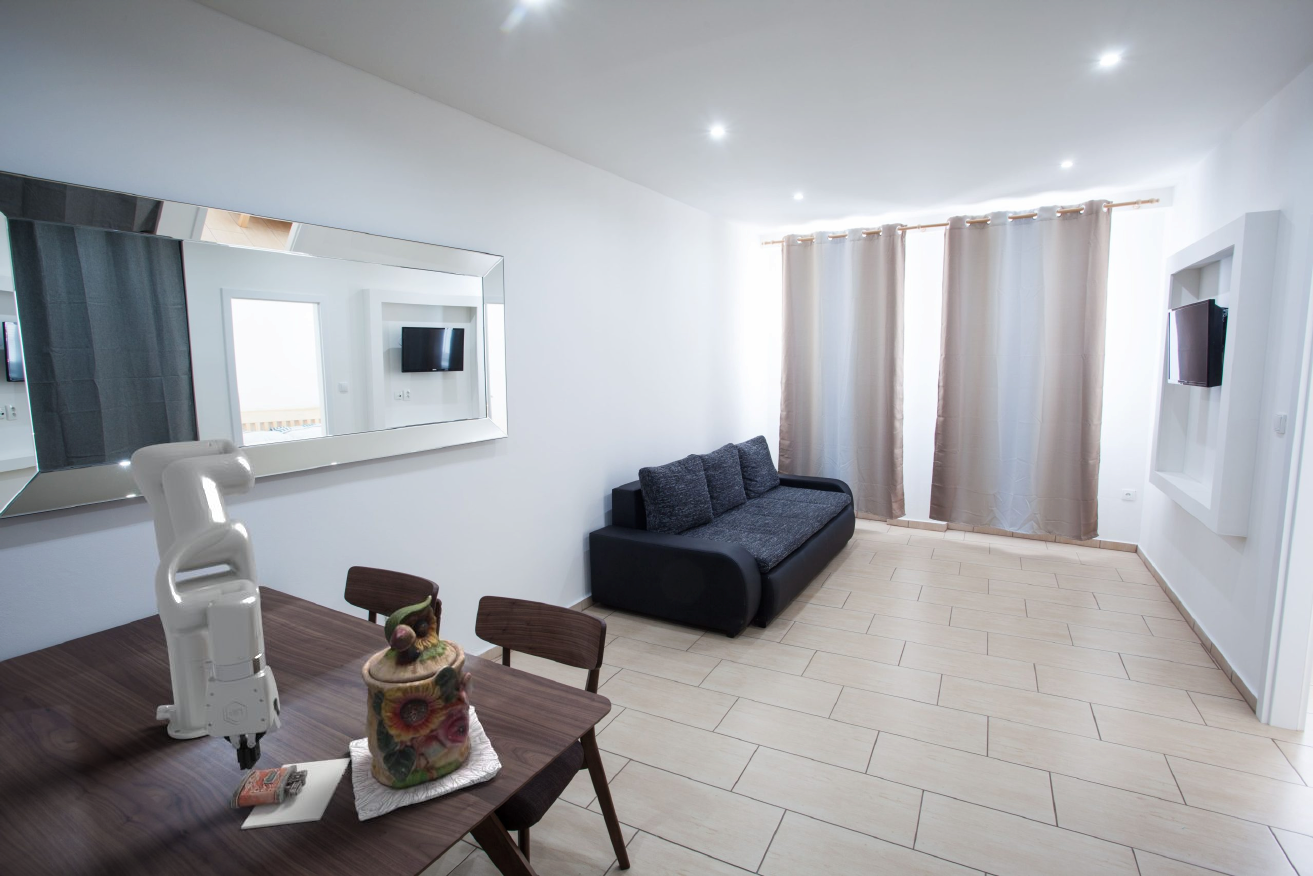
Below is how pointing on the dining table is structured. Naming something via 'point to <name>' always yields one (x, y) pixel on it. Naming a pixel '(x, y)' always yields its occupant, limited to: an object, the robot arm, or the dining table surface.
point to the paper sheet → (302, 796)
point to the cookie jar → (417, 720)
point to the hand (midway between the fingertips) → (249, 764)
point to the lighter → (268, 786)
